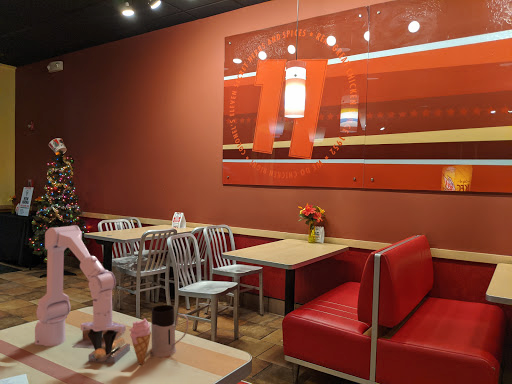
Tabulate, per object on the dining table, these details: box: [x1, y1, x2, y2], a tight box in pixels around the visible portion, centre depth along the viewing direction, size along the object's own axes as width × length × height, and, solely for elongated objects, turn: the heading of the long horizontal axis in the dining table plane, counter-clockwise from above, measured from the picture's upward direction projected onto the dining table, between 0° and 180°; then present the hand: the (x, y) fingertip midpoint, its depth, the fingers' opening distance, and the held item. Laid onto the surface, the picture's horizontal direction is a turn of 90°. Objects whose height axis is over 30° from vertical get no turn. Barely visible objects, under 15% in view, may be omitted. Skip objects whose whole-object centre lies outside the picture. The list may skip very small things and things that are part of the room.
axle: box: [94, 337, 126, 359], centre depth 129 cm, size 3×14×3 cm, turn 170°
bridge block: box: [71, 330, 126, 350], centre depth 143 cm, size 12×15×5 cm
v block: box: [88, 343, 131, 365], centre depth 129 cm, size 9×10×3 cm
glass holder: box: [150, 304, 189, 358], centre depth 133 cm, size 9×14×15 cm, turn 69°
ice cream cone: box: [128, 318, 152, 366], centre depth 125 cm, size 7×6×15 cm
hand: (103, 352), depth 125 cm, fingers closed on axle, 3 cm apart
